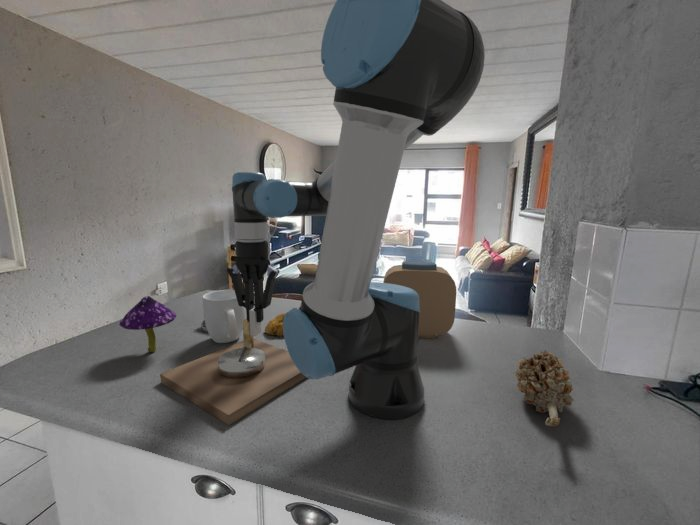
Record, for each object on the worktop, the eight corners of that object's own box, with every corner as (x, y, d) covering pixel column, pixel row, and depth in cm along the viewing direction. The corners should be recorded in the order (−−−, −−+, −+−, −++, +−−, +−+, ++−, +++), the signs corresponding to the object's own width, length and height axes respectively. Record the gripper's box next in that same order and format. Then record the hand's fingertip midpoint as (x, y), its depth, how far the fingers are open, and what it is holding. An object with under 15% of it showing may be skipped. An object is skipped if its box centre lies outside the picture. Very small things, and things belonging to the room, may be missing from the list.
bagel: (261, 328, 103) (261, 313, 102) (296, 323, 107) (296, 309, 107) (268, 340, 94) (267, 324, 93) (305, 335, 99) (305, 320, 98)
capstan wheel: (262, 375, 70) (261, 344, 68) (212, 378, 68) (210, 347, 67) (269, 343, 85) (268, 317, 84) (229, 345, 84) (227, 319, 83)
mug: (255, 346, 90) (253, 299, 88) (212, 356, 84) (209, 306, 82) (240, 328, 102) (238, 287, 100) (202, 336, 96) (198, 292, 94)
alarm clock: (448, 328, 104) (452, 261, 100) (453, 341, 94) (458, 266, 91) (382, 324, 106) (384, 258, 103) (380, 336, 97) (383, 264, 93)
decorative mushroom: (129, 346, 89) (122, 292, 86) (180, 339, 94) (176, 287, 91) (117, 367, 78) (110, 306, 75) (177, 357, 83) (172, 300, 80)
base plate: (318, 370, 77) (318, 360, 77) (229, 425, 58) (228, 413, 57) (251, 344, 91) (250, 336, 90) (161, 382, 71) (160, 372, 71)
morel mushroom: (508, 381, 73) (512, 338, 72) (557, 388, 70) (563, 345, 69) (526, 449, 53) (532, 393, 51) (597, 465, 50) (606, 405, 48)
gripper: (283, 239, 81) (286, 330, 85) (235, 237, 83) (240, 325, 88) (270, 243, 73) (273, 342, 78) (217, 240, 76) (223, 336, 80)
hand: (255, 333), depth 83 cm, fingers closed
